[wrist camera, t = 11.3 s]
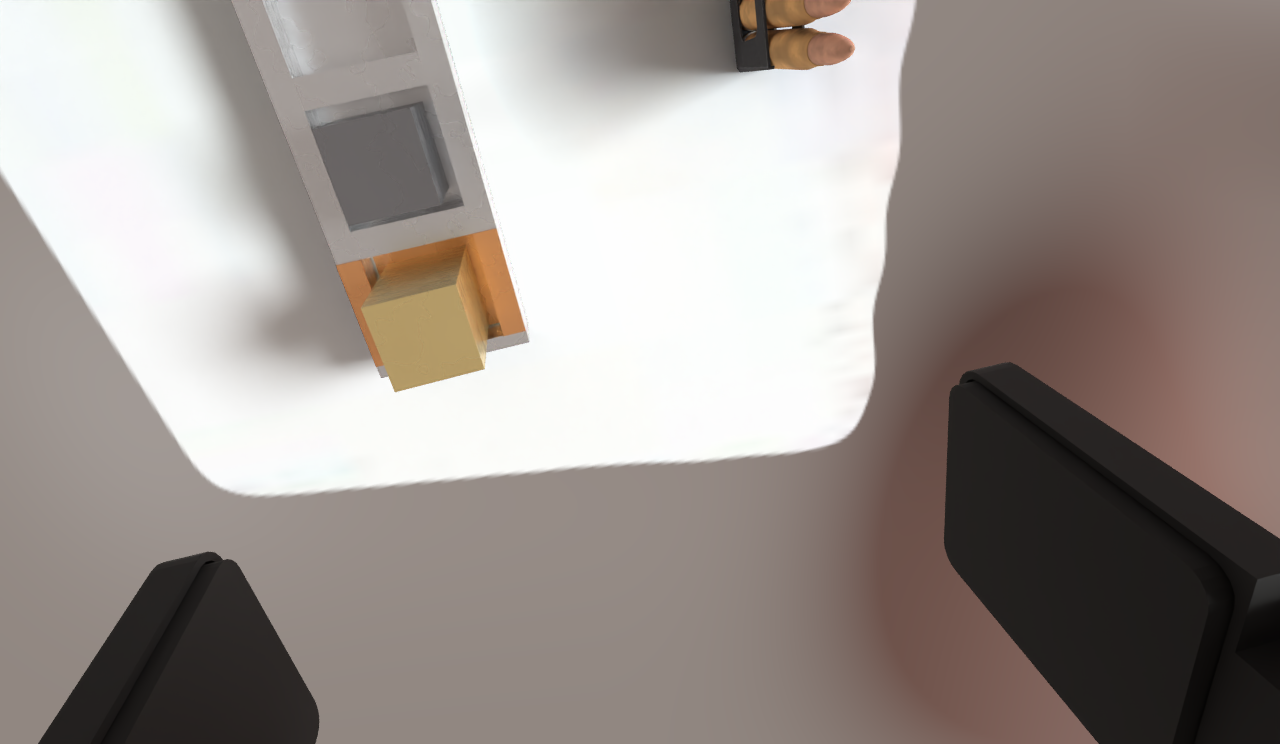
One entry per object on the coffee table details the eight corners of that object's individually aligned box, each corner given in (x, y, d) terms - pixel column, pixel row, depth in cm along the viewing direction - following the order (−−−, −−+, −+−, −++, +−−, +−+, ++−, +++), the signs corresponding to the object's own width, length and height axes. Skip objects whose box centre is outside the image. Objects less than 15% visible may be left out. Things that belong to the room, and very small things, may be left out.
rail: (225, -71, 31) (197, -83, 28) (406, -107, 32) (395, -122, 29) (390, 356, 40) (380, 379, 37) (528, 322, 41) (529, 342, 38)
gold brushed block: (386, 264, 37) (360, 308, 31) (465, 244, 37) (455, 284, 31) (414, 336, 39) (394, 392, 33) (489, 317, 39) (484, 369, 33)
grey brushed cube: (335, 120, 34) (311, 129, 30) (422, 101, 34) (410, 107, 30) (367, 206, 36) (348, 226, 32) (449, 187, 36) (440, 205, 32)
